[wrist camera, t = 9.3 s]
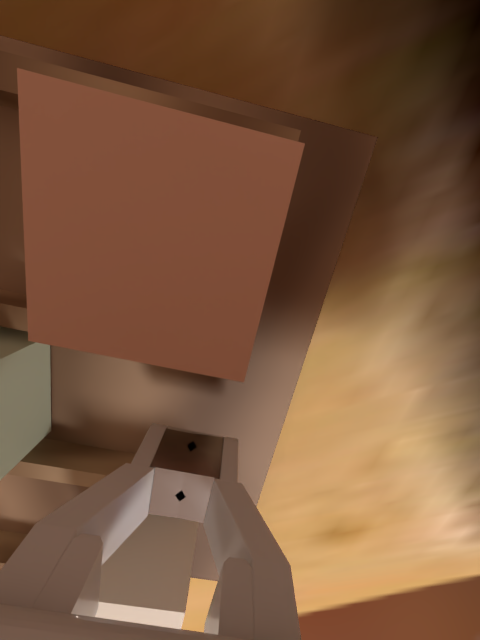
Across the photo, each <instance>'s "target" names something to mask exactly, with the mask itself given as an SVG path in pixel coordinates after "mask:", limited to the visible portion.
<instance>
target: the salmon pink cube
mask: <svg viewBox="0 0 480 640" xmlns="http://www.w3.org/2000/svg"><path fill="white" fill-rule="evenodd" d="M17 82H18V106H19V130H20V154H21V178H22V202H23V226H24V250H25V274H26V298H27V322H28V341H32V342H37V343H42V344H47V345H52V346H58V347H63V348H68V349H73V350H78V351H83V352H89V353H94V354H99V355H104V356H109V357H114V358H120V359H125V360H130V361H135V362H140V363H145V364H151V365H156V366H161V367H166V368H171V369H177V370H182V371H187V372H192V373H197V374H202V375H208V376H213V377H218V378H223V379H228V380H233V381H239V382H244V380H245V376H246V373H247V369H248V365H249V361H250V357H251V353H252V349H253V345H254V341H255V337H256V333H257V329H258V326H259V322H260V318H261V314H262V310H263V306H264V302H265V298H266V294H267V290H268V286H269V283H270V279H271V275H272V271H273V267H274V263H275V259H276V255H277V251H278V247H279V243H280V239H281V236H282V232H283V228H284V224H285V220H286V216H287V212H288V208H289V204H290V200H291V196H292V193H293V189H294V185H295V181H296V177H297V173H298V169H299V165H300V161H301V157H302V153H303V149H304V146H305V143H301V142H297V141H293V140H290V139H286V138H282V137H278V136H274V135H270V134H267V133H263V132H259V131H255V130H251V129H248V128H244V127H240V126H236V125H232V124H229V123H225V122H221V121H217V120H213V119H210V118H206V117H202V116H198V115H194V114H191V113H187V112H183V111H179V110H175V109H172V108H168V107H164V106H160V105H156V104H153V103H149V102H145V101H141V100H137V99H133V98H130V97H126V96H122V95H118V94H114V93H111V92H107V91H103V90H99V89H95V88H92V87H88V86H84V85H80V84H76V83H73V82H69V81H65V80H61V79H57V78H54V77H50V76H46V75H42V74H38V73H35V72H31V71H27V70H23V69H19V68H17Z"/></svg>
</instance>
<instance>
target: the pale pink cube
mask: <svg viewBox="0 0 480 640" xmlns="http://www.w3.org/2000/svg"><path fill="white" fill-rule="evenodd" d="M198 523H199V522H195V521H190V520H185V519H180V518H175V517H167V516H160V515H152V514H148V516H147V517H146V518H145V519H144V521H143V522H142V523H141V524H140V525H139V526H138V527H137V528H136V529H135V530H134V531H133V532H132V534H131V535H130V536H129V537H128V538H127V539H126V540H125V541H124V542H123V543H122V544H121V545H120V546H119V548H118V549H117V550H116V551H115V552H114V553H113V554H112V555H111V556H110V557H109V558H108V559H107V560H106V562H105V563H104V564H103V565H102V566H101V579H100V593H99V606H98V610H97V613H96V615H95V617H98V618H105V619H112V620H119V621H126V622H133V623H140V624H147V625H154V626H161V627H168V628H175V629H181V627H182V623H183V619H184V615H185V610H186V603H187V597H188V590H189V583H190V577H191V570H192V563H193V557H194V550H195V543H196V536H197V530H198Z"/></svg>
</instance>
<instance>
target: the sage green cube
mask: <svg viewBox="0 0 480 640" xmlns="http://www.w3.org/2000/svg"><path fill="white" fill-rule="evenodd" d="M50 431H51V368H50V345H47V344H42V343H37V342H32V341H28V332H27V331H22V330H17V329H12V328H7V327H2V326H0V480H1V479H2V478H3V477H4V476H5V475H6V474H7V473H8V472H9V471H10V470H11V469H12V468H14V467H15V466H16V465H17V464H18V463H19V462H20V461H21V460H22V459H23V458H24V457H25V456H26V455H27V454H28V453H29V452H30V451H31V450H32V449H33V448H34V447H35V446H36V445H37V444H38V443H39V442H40V441H41V440H42V439H43V438H44V437H45V436H46V435H47V434H48V433H49V432H50Z"/></svg>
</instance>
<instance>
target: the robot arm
mask: <svg viewBox="0 0 480 640" xmlns="http://www.w3.org/2000/svg"><path fill="white" fill-rule="evenodd" d="M238 450H239V441H238V439H236V438H230V437H223V436H218V435H212V434H207V433H201V432H195V431H190V430H185V429H181V428H176V427H171V426H165V425H160V424H156V423H153V424H152V425H151V426H150V428H149V430H148V431H147V433H146V435H145V437H144V439H143V441H142V443H141V445H140V447H139V449H138V451H137V453H136V455H135V457H134V458H133V460H132V462H131V464H129V463H125V464H124V465H122V466H121V467H119V468H118V469H116V470H115V471H113V472H112V473H110V474H109V475H107V476H106V477H104V478H103V479H101V480H100V481H98V482H97V483H95V484H94V485H92V486H91V487H89V488H88V489H86V490H85V491H83V492H82V493H80V494H79V495H77V496H76V497H74V498H73V499H72V500H70V501H69V502H67V503H66V504H64V505H63V506H61V507H60V508H58V509H57V510H55V511H54V512H52V513H51V514H49V515H48V516H46V517H45V518H43V519H42V520H40V521H39V522H37V523H36V524H35V525H34V526H33V528H32V529H31V530H30V532H29V533H28V534H27V536H26V537H25V538H24V540H23V541H22V542H21V544H20V545H19V546H18V548H17V549H16V550H15V552H14V553H13V554H12V556H11V557H10V558H9V560H8V561H7V562H6V564H5V565H4V566H3V568H2V569H1V570H0V640H301V635H300V628H299V621H298V614H297V607H296V601H295V594H294V587H293V580H292V574H291V567H290V564H289V562H288V561H287V559H286V557H285V555H284V554H283V552H282V550H281V549H280V547H279V545H278V543H277V542H276V540H275V538H274V537H273V535H272V533H271V532H270V530H269V528H268V526H267V525H266V523H265V521H264V520H263V518H262V516H261V514H260V513H259V511H258V509H257V508H256V506H255V504H254V502H253V501H252V499H251V497H250V496H249V494H248V492H247V491H246V489H245V487H244V485H243V484H242V483H238ZM148 514H152V515H160V516H167V517H175V518H180V519H185V520H190V521H195V522H200V523H204V524H203V526H204V529H205V532H206V535H207V539H208V542H209V545H210V548H211V551H212V555H213V558H214V561H215V564H216V568H217V571H218V574H219V579H218V583H217V586H216V589H215V592H214V596H213V599H212V602H211V605H210V609H209V612H208V615H207V618H206V622H205V628H204V633H203V632H196V631H189V630H182V629H175V628H168V627H161V626H154V625H147V624H140V623H133V622H126V621H119V620H112V619H105V618H98V617H95V615H96V613H97V610H98V606H99V593H100V579H101V566H102V565H103V564H104V563H105V562H106V560H107V559H108V558H109V557H110V556H111V555H112V554H113V553H114V552H115V551H116V550H117V549H118V548H119V546H120V545H121V544H122V543H123V542H124V541H125V540H126V539H127V538H128V537H129V536H130V535H131V534H132V532H133V531H134V530H135V529H136V528H137V527H138V526H139V525H140V524H141V523H142V522H143V521H144V519H145V518H146V517H147V516H148Z"/></svg>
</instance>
